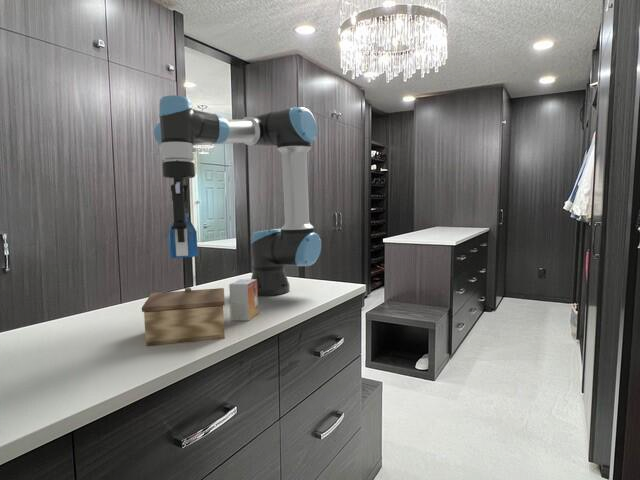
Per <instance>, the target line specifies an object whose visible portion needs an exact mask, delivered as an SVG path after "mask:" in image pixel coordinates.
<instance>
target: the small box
mask: <svg viewBox="0 0 640 480" xmlns="http://www.w3.org/2000/svg"><path fill="white" fill-rule="evenodd" d="M228 286H229V287H228V288H229V305H230V306H229V309H230V320H231V321H242V322H243V321H250V320H252V319H253V318H254V317H255V316H257V315H259V300H258V299H259V298H258V296H259V295H257V279H251V278H248V279H245V278H244V279H243V278H242V279H238V280H236V281H233V282H232V283H229V285H228Z"/></svg>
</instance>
